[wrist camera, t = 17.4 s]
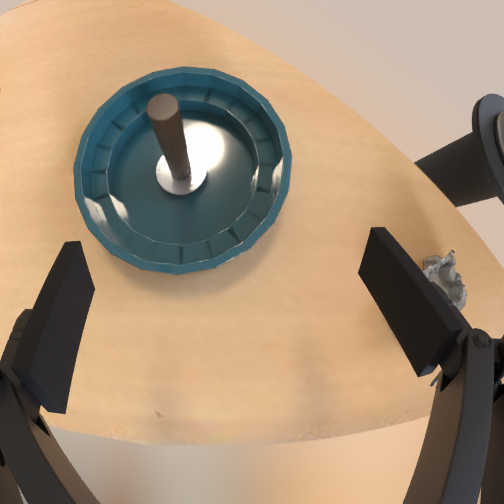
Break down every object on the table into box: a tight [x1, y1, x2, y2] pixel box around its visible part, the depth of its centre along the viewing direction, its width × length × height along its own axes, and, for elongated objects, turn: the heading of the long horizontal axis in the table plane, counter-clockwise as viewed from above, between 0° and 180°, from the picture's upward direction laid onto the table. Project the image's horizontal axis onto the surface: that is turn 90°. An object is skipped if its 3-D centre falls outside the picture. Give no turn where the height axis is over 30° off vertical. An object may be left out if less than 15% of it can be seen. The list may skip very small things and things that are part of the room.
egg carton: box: [423, 250, 467, 311], centre depth 31 cm, size 11×8×4 cm
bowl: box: [74, 67, 292, 275], centre depth 28 cm, size 20×20×6 cm
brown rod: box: [146, 93, 207, 198], centre depth 23 cm, size 5×5×14 cm
